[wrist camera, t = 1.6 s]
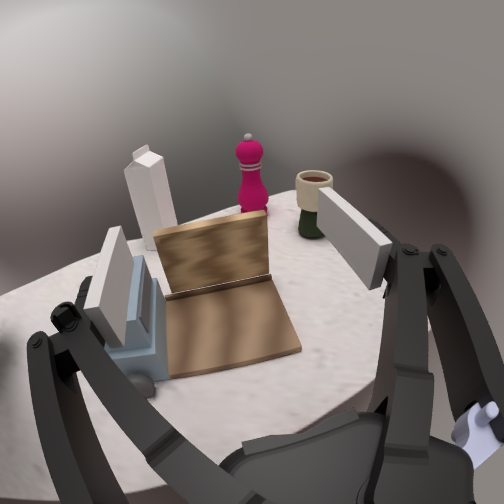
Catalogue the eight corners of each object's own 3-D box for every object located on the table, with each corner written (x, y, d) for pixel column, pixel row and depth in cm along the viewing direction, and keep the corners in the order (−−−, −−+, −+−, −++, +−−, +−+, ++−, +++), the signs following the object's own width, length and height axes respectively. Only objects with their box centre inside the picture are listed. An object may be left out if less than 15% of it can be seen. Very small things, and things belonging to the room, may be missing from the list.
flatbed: (171, 379, 33) (167, 372, 32) (167, 302, 45) (164, 295, 44) (301, 351, 36) (302, 343, 35) (271, 281, 48) (270, 274, 46)
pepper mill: (272, 219, 65) (268, 135, 53) (242, 224, 64) (233, 139, 52) (264, 205, 71) (260, 129, 59) (237, 210, 70) (228, 132, 58)
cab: (118, 400, 30) (73, 352, 23) (125, 303, 45) (101, 251, 38) (172, 395, 31) (138, 344, 24) (167, 296, 46) (148, 240, 39)
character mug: (341, 237, 57) (347, 180, 49) (318, 250, 54) (322, 189, 46) (307, 217, 64) (308, 165, 57) (284, 227, 61) (283, 172, 54)
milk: (180, 236, 62) (161, 141, 49) (170, 252, 57) (146, 151, 44) (157, 235, 63) (136, 145, 50) (146, 250, 58) (119, 154, 45)
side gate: (172, 293, 43) (152, 237, 36) (171, 286, 44) (153, 230, 37) (269, 273, 45) (267, 215, 38) (266, 267, 47) (263, 209, 40)
